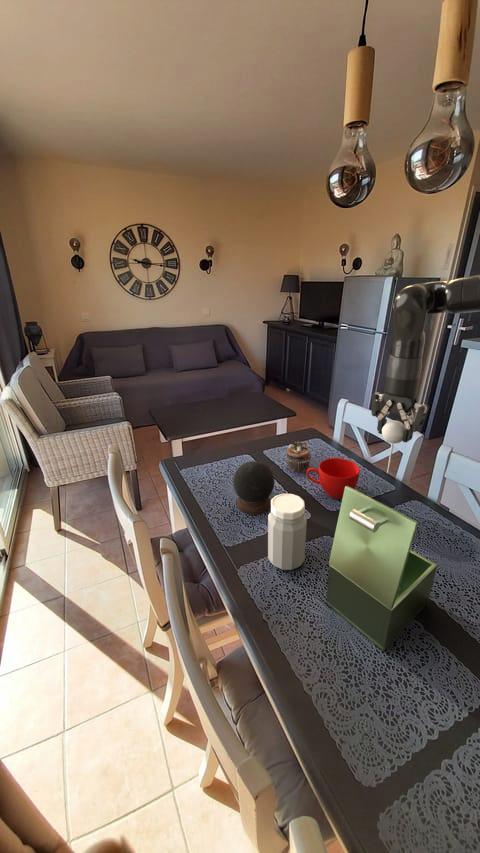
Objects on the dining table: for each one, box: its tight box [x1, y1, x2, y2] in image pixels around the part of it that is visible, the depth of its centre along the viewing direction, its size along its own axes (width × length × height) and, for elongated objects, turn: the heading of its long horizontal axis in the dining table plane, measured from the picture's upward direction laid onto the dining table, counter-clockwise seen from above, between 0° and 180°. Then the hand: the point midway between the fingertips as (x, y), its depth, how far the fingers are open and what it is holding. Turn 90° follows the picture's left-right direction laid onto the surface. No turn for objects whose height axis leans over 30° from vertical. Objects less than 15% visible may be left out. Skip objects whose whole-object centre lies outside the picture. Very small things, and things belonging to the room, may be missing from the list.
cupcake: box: [285, 440, 312, 473], centre depth 136 cm, size 10×10×10 cm
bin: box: [325, 549, 438, 653], centre depth 80 cm, size 18×15×12 cm
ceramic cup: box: [305, 457, 361, 500], centre depth 120 cm, size 13×17×10 cm
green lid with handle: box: [328, 486, 419, 609], centre depth 68 cm, size 19×15×5 cm
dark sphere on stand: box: [232, 460, 275, 515], centre depth 115 cm, size 13×13×15 cm
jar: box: [267, 493, 308, 571], centre depth 92 cm, size 10×10×18 cm
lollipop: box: [381, 420, 406, 474], centre depth 94 cm, size 6×6×15 cm
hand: (393, 436), depth 93 cm, fingers closed on lollipop, 6 cm apart
